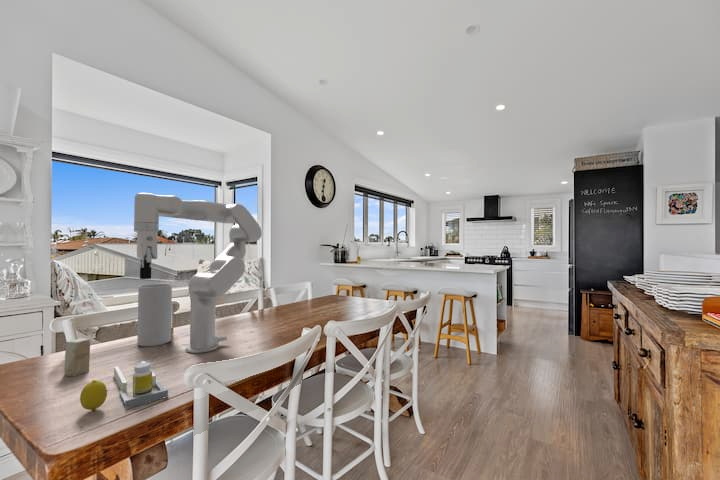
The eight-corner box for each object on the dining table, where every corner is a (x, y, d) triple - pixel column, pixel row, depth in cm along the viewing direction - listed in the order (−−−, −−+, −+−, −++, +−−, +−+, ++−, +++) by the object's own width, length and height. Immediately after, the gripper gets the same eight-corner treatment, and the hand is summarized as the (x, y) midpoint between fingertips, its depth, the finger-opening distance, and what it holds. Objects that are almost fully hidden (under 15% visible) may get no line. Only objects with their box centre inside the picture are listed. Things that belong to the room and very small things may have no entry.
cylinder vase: (177, 340, 150) (178, 285, 150) (149, 348, 138) (150, 288, 139) (158, 337, 155) (159, 283, 155) (130, 344, 144) (131, 286, 144)
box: (74, 376, 109) (74, 342, 109) (63, 375, 110) (64, 341, 110) (90, 370, 114) (90, 338, 114) (80, 369, 115) (80, 337, 115)
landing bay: (159, 385, 104) (159, 378, 104) (167, 396, 96) (168, 389, 96) (119, 394, 97) (119, 388, 97) (125, 408, 89) (125, 400, 89)
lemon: (89, 406, 90) (90, 376, 90) (111, 405, 91) (112, 375, 91) (74, 416, 85) (74, 384, 85) (97, 415, 85) (97, 384, 85)
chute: (144, 369, 116) (144, 360, 116) (155, 385, 104) (156, 375, 104) (114, 376, 110) (114, 366, 110) (122, 393, 98) (122, 383, 98)
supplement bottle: (155, 392, 99) (155, 363, 99) (138, 398, 95) (138, 369, 95) (145, 388, 101) (146, 360, 101) (129, 395, 97) (129, 366, 97)
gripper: (163, 227, 118) (162, 279, 117) (153, 228, 129) (152, 276, 128) (138, 226, 112) (137, 281, 112) (130, 227, 123) (129, 277, 123)
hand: (145, 278), depth 120 cm, fingers closed
